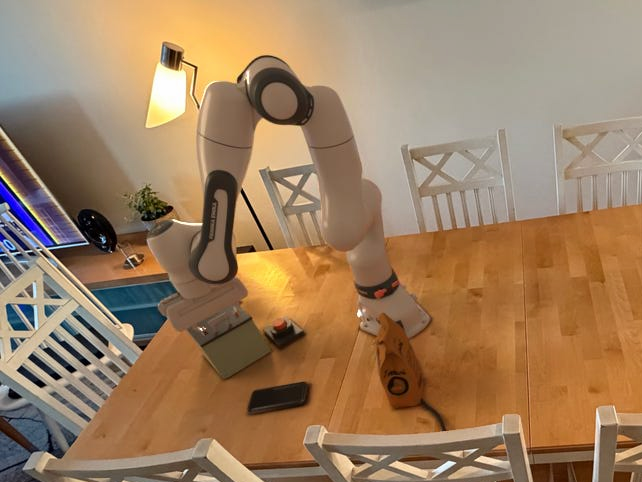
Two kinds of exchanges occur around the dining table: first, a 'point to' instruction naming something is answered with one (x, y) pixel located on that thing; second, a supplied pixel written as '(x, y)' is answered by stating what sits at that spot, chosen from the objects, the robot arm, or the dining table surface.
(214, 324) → the lid
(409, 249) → the dining table surface
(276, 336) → the block
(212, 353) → the green box
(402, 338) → the coffee package
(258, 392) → the phone
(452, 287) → the dining table surface
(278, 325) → the button
